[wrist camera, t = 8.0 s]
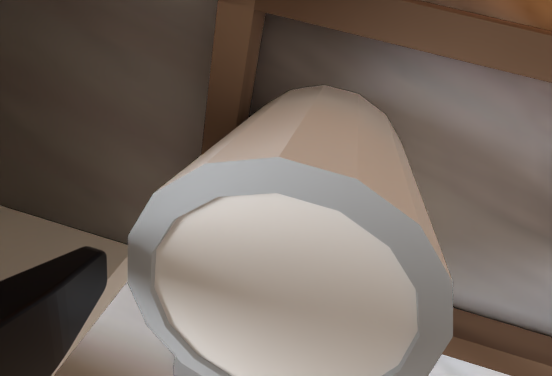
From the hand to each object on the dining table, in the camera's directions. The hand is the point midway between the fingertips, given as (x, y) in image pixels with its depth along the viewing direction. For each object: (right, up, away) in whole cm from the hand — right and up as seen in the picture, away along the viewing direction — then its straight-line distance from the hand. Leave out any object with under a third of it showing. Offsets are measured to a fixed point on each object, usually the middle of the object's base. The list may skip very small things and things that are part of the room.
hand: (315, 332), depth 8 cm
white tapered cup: (+1, +4, +6) cm, 8 cm away
